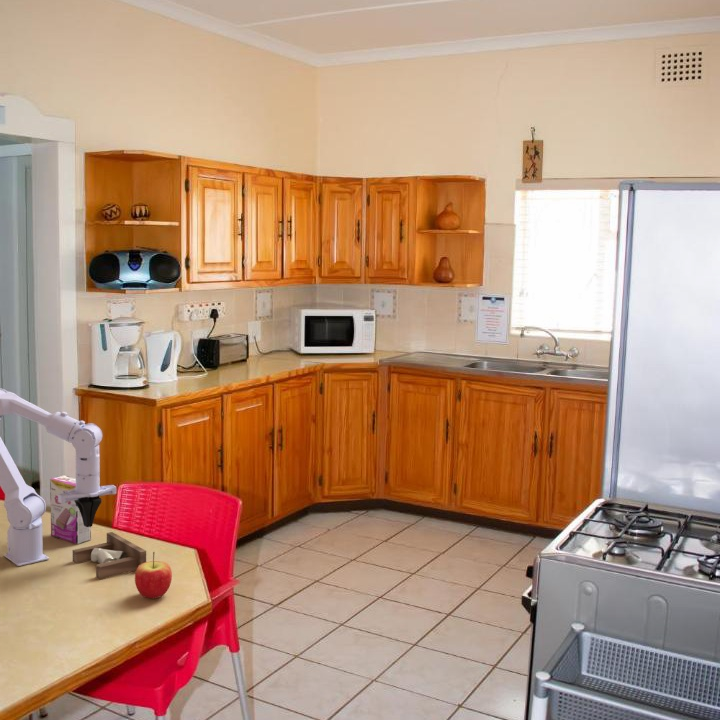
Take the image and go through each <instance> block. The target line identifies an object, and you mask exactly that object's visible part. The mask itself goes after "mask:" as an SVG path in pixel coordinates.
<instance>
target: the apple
mask: <svg viewBox="0 0 720 720" xmlns="http://www.w3.org/2000/svg"><path fill="white" fill-rule="evenodd" d="M172 572H173V571H172V568H171V566H170V565H169V564H168V563H167V562H164V561H158V560H155V551H153V552H152V560H151V561H150V560H149V561H146V562H145V563H142V564H141V565H139V566H138V568H137V570H135V574H134V583H135V586H136V587H135V588H136V589H137V591H138V593H139V595H141V596H142V597H144V598H147V599H157V598H160V597H163V596H164V595H166V593H167V592H168V590H169V589H170V586H171V585H172V578H173V575H172V574H173V573H172Z"/></svg>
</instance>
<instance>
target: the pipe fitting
mask: <svg viewBox="0 0 720 720" xmlns="http://www.w3.org/2000/svg"><path fill="white" fill-rule="evenodd" d="M123 558H126V552H123V551H113V550H106V549H101V548H94V549H93V551H92V553H91V560H90V561H91V562H93V563H98V564H102V563H107V562H111V561H115V560H119V559H123Z"/></svg>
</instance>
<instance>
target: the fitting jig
mask: <svg viewBox="0 0 720 720" xmlns="http://www.w3.org/2000/svg"><path fill="white" fill-rule="evenodd" d="M94 548H101V549H106V550H113V551H123V552H126V558H123V559H119V560H115V561H111V562H107V563H102V564H100V563H98V564H95V578H97V579H99V580H103V579H107V578H111V577H115V576H119V575H123V574H128V573H131V572H136V570H137V568H138V566H139V565H141V564H142V563H145V562H147V550H146V549H144V548H142V547H140V546H138V545H137V544H135V543H133V542H131V541H130V540H127V539H125V538H123V537H122V536H121V535H118V534H117V533H115V532H114V531H110V532H106V542H103V543H98V544H94V545H89V546H85V547H81V548H76V549H72V551H71V552H72V563H74V564H76V565H77V564H81V563H85V562H90V561H91V553H92V551H93V549H94Z"/></svg>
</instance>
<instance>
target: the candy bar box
mask: <svg viewBox="0 0 720 720" xmlns="http://www.w3.org/2000/svg"><path fill="white" fill-rule="evenodd" d="M49 483H50V485H49V487H50V488H49V491H50V536H51V537H54V538H57V539H59V540H63V541H65V542H69V543H73V544H75V545H81V544H84V543H86V542H89V541H91V540H92V526H91V527H86V526H84V524H83V519H82V516H81V513H80V511H79V508H78V507H77V505H76V503H75V501H69V502H65V503H63V504H61V503H59V502H58V494H62V493H66V492H69V491H73V490H76V477H71V476H68V475H61V476H56V477H51V478H50V479H49Z"/></svg>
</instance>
